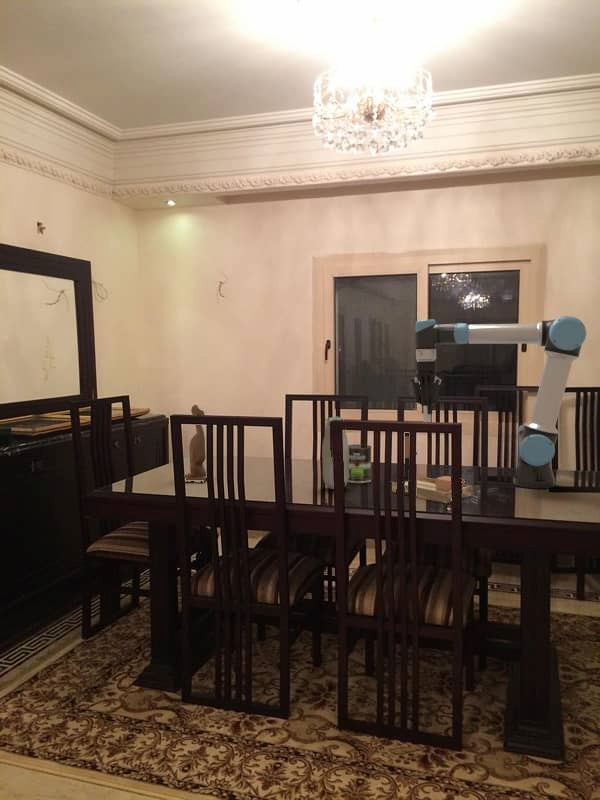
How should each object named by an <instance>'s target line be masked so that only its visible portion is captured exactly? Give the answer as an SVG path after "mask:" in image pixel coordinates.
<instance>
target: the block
mask: <svg viewBox="0 0 600 800" xmlns="http://www.w3.org/2000/svg"><path fill="white" fill-rule="evenodd" d="M451 477H452V476H448V475H444V476H439V477H437V478H436V477H435V479H436V489H437V490H442V491H447V492H449V491H451ZM461 479H462V488H463V487H464V484H465V479H464V478H461Z"/></svg>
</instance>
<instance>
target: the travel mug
mask: <svg viewBox="0 0 600 800" xmlns="http://www.w3.org/2000/svg"><path fill="white" fill-rule="evenodd" d="M416 455H417V456H418V451H417V452H416ZM408 470H409V433H405V478H404V479H406V478H408Z"/></svg>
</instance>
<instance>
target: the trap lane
mask: <svg viewBox="0 0 600 800" xmlns="http://www.w3.org/2000/svg"><path fill="white" fill-rule="evenodd" d="M408 481H409V480H408ZM408 481H404V482H405V484H404V488H405V492H408ZM391 482H392V492H391V493H396V489H397V483H398V482H395V481H391ZM396 494H397V493H396ZM473 494H474V489H473V485H472V484H471V485H470V484H465V483H464V487H463V488H462V496H463V499H466V498H469V497H472V496H473ZM416 498H419V499H424V500H428V501H434V502H437V503H438V502H439V503H442V504H450V503H452V502H451V491H449V492H447V491H442V490H437V489H436V478H431V477H424V476H419V475H417V497H416Z"/></svg>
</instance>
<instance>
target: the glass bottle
mask: <svg viewBox="0 0 600 800" xmlns="http://www.w3.org/2000/svg"><path fill="white" fill-rule="evenodd" d="M333 420H343V421H344V419H343V418H342V417H340V416H332V417H329V418H328V419H327V420H326V422H325V427H324V428H325V429H324V436H323V440H322V441H323V442H322V449H321V450H322V451H321V452H322V453H321V457H322V458H321V459H322V479H323V482H324V484H325V485H326V488H328V489H330V490H333V462H332V457H331V450H330V422H331V421H333ZM346 431H347V430H346V429H345V430H344V431H343V460H344V482H345V487H346V486H347V484H348V483H349V482H348V479H349V446H348V445H349V441H348V437H347V432H346Z"/></svg>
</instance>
